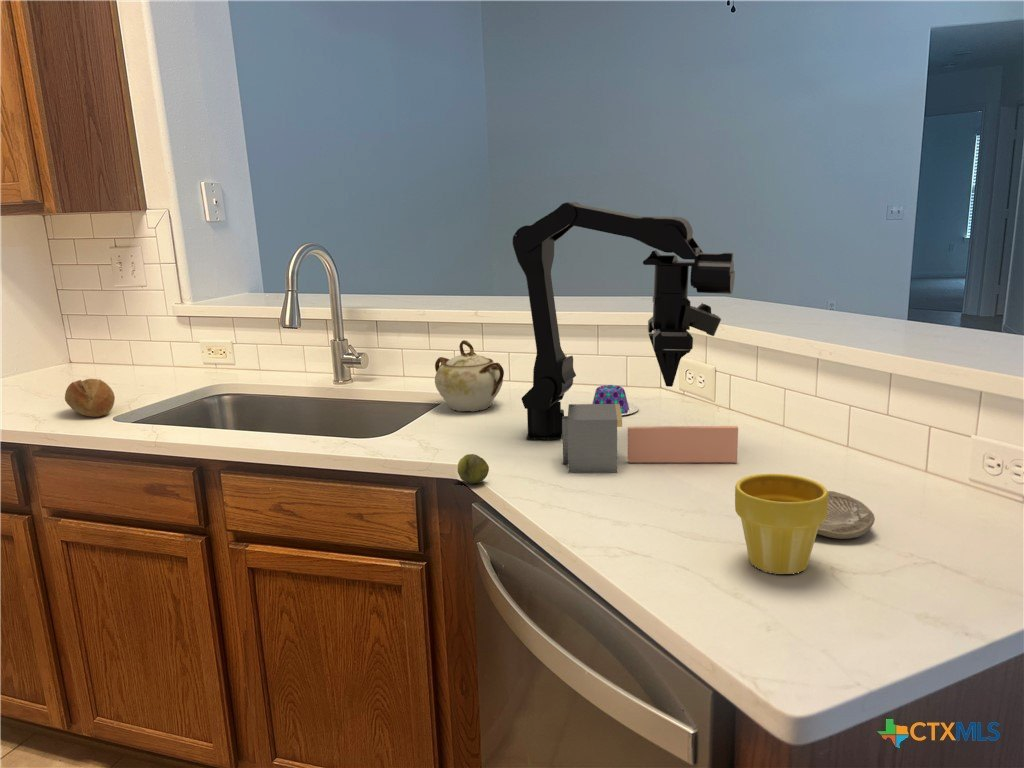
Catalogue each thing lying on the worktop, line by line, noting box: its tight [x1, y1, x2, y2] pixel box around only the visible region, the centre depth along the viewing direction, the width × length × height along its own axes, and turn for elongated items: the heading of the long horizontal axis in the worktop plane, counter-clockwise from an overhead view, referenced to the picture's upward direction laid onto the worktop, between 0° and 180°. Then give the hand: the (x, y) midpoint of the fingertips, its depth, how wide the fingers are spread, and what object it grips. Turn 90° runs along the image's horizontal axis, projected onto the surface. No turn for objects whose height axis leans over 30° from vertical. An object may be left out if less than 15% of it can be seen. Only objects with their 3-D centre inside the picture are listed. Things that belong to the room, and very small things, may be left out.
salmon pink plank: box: [627, 425, 739, 463], centre depth 129 cm, size 18×1×6 cm, turn 85°
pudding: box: [588, 384, 640, 416], centre depth 163 cm, size 12×12×5 cm
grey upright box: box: [561, 403, 623, 474], centre depth 130 cm, size 10×10×9 cm
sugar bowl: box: [434, 340, 505, 412], centre depth 169 cm, size 20×15×15 cm
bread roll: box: [64, 378, 116, 418], centre depth 176 cm, size 10×15×8 cm, turn 42°
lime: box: [457, 453, 490, 485], centre depth 123 cm, size 4×5×5 cm
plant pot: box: [734, 473, 829, 575], centre depth 92 cm, size 10×10×10 cm
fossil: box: [817, 490, 876, 540], centre depth 103 cm, size 10×12×3 cm
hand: (667, 380), depth 136 cm, fingers open, 9 cm apart
